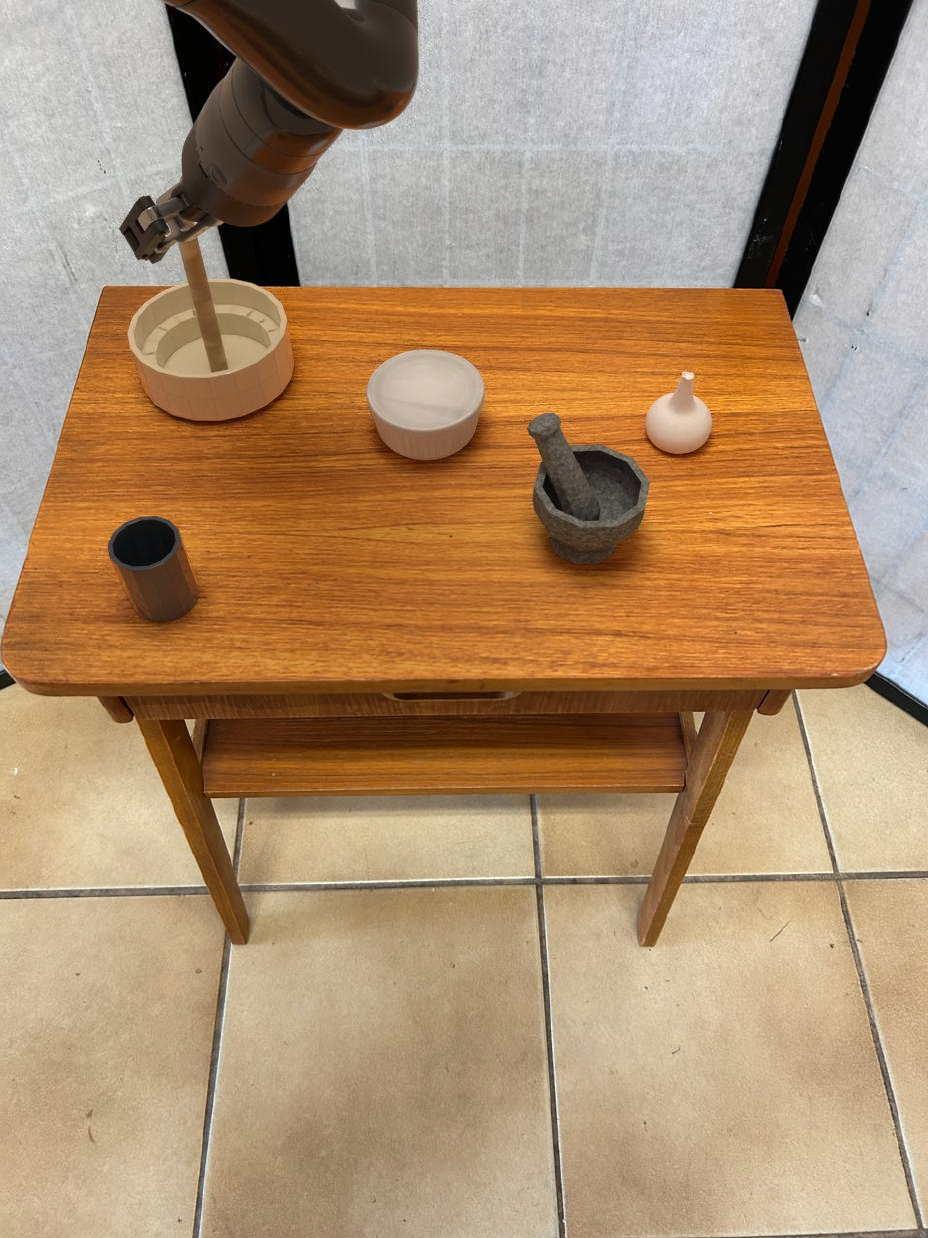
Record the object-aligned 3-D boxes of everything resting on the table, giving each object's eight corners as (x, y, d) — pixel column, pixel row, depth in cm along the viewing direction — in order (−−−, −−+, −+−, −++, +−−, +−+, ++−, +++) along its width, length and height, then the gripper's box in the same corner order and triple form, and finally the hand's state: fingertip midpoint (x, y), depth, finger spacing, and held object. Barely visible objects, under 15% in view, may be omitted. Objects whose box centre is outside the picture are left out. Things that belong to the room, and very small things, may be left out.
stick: (212, 376, 96) (172, 222, 83) (209, 365, 97) (169, 210, 84) (229, 373, 97) (193, 218, 83) (227, 362, 98) (190, 207, 84)
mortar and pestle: (655, 527, 86) (681, 428, 76) (608, 596, 81) (629, 501, 72) (546, 478, 90) (558, 378, 80) (495, 542, 85) (501, 444, 75)
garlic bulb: (716, 427, 94) (736, 362, 87) (694, 467, 91) (713, 402, 84) (656, 406, 96) (671, 340, 89) (633, 444, 92) (646, 379, 86)
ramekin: (388, 482, 89) (385, 440, 85) (355, 404, 95) (351, 362, 91) (500, 454, 91) (502, 412, 87) (461, 380, 97) (461, 338, 93)
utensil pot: (136, 629, 79) (111, 577, 73) (128, 577, 82) (104, 524, 76) (203, 613, 80) (184, 561, 74) (193, 563, 83) (174, 508, 77)
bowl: (154, 439, 92) (137, 390, 87) (136, 342, 100) (120, 293, 96) (308, 407, 95) (300, 359, 90) (278, 315, 103) (270, 267, 98)
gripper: (310, 57, 65) (241, 154, 79) (127, 127, 59) (88, 219, 73) (364, 163, 67) (288, 240, 81) (193, 241, 61) (143, 309, 75)
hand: (193, 230), depth 77 cm, fingers open, 8 cm apart
